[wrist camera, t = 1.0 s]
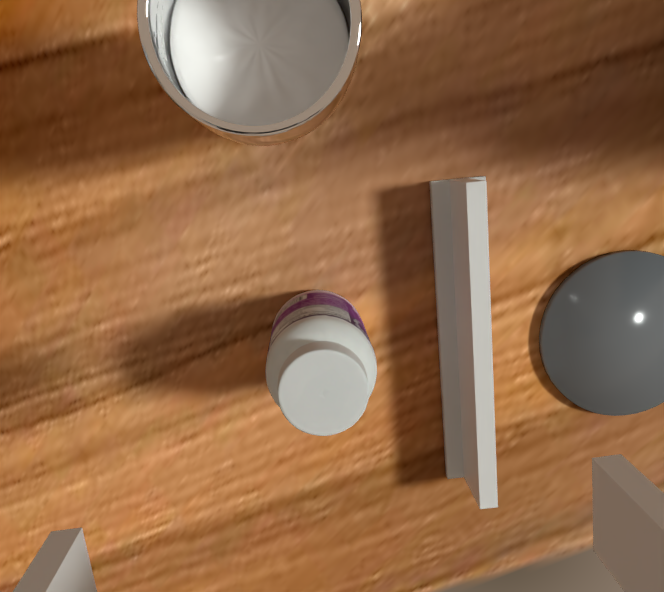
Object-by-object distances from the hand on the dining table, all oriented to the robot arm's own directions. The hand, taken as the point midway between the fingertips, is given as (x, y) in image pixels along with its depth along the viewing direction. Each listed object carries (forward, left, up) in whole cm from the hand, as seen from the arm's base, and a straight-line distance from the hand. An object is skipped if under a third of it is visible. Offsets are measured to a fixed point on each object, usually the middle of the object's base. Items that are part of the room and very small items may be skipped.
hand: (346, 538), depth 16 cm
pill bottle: (0, -1, -21) cm, 21 cm away
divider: (+8, -1, -20) cm, 22 cm away
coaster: (+18, -3, -20) cm, 27 cm away
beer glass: (-1, +14, -21) cm, 25 cm away
